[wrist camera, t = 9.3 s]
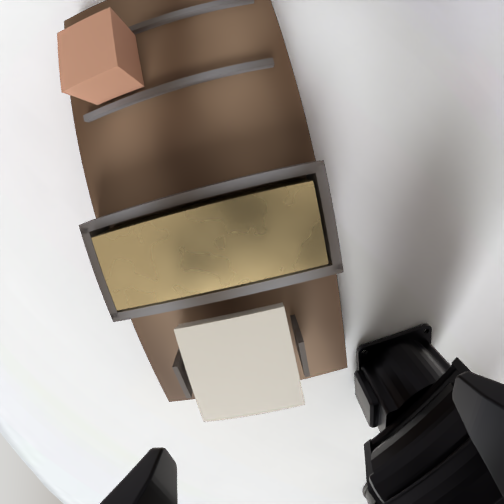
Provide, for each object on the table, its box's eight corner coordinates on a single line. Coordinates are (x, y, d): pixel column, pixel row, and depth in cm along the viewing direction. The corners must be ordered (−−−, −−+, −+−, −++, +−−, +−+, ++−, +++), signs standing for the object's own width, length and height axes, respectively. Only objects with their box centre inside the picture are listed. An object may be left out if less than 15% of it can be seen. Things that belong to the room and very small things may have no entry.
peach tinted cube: (135, 35, 13) (110, 7, 10) (144, 86, 14) (117, 66, 11) (90, 54, 14) (57, 33, 10) (97, 104, 14) (61, 92, 11)
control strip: (254, -26, 14) (257, -70, 9) (339, 352, 22) (361, 396, 17) (77, 30, 15) (40, 4, 10) (173, 385, 22) (160, 432, 17)
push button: (302, 178, 16) (313, 180, 14) (316, 250, 17) (328, 263, 15) (110, 228, 16) (91, 238, 14) (131, 292, 17) (117, 310, 15)
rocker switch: (282, 302, 17) (284, 306, 16) (302, 395, 17) (305, 404, 16) (179, 324, 17) (173, 329, 16) (207, 412, 17) (203, 421, 16)
